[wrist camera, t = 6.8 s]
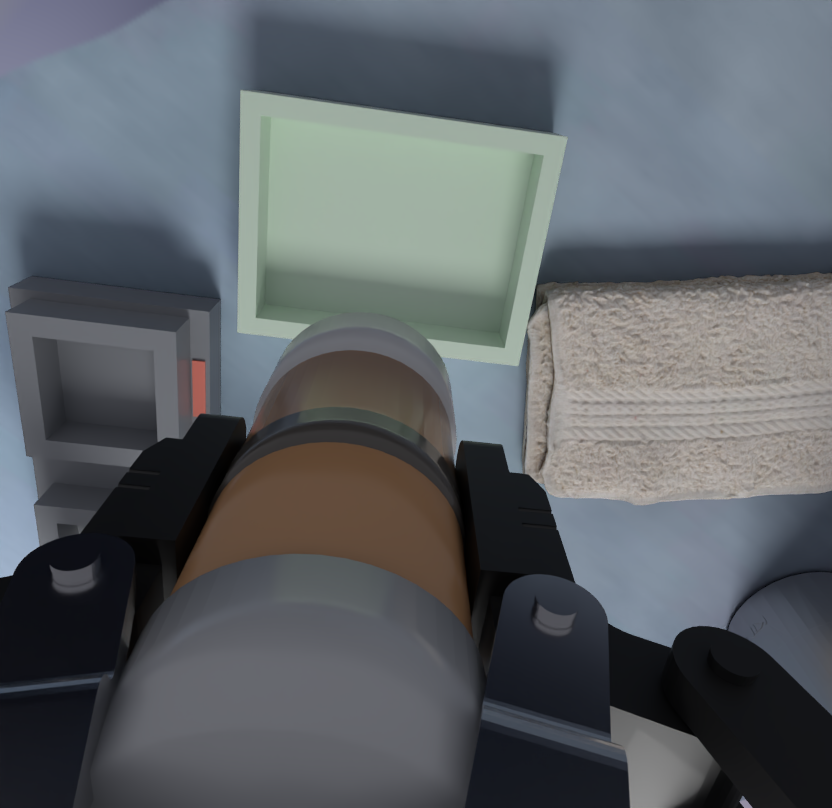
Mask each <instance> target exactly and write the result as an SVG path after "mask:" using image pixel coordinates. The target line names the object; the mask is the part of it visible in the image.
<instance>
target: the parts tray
mask: <svg viewBox="0 0 832 808" xmlns="http://www.w3.org/2000/svg"><path fill="white" fill-rule="evenodd" d="M567 138H568V137H566V136H562V135H559V134H556V133H551V132H544V131H537V130H530V129H523V128H516V127H510V126H503V125H496V124H489V123H482V122H475V121H468V120H461V119H454V118H447V117H440V116H433V115H426V114H419V113H412V112H405V111H398V110H391V109H385V108H378V107H371V106H364V105H357V104H350V103H343V102H336V101H329V100H322V99H315V98H308V97H301V96H294V95H287V94H280V93H273V92H266V91H259V90H241V94H240V170H239V246H238V322H237V333H245V334H253V335H262V336H270V337H278V338H287V339H294V338H295V337H296V336H297V335H298V334H300V333H301V332H302V331H303V330H304V329H306V328H307V327H309V326H310V325H312V324H314V323H316V322H318V321H320V320H322V319H324V318H327V317H330V316H333V315H337V314H342V313H350V312H370V313H376V314H381V315H385V316H388V317H392V318H395V319H397V320H399V321H401V322H403V323H405V324H407V325H409V326H410V327H412V328H414V329H415V330H417V331H418V332H419V333H420V334H421V335H423V336H424V337H425V338H426V339H427V340H428V341H429V342H430V343H431V344H432V345H433V347H434V348H435V349H436V351H437V352H438V354H439V355H440V357H446V358H454V359H462V360H471V361H479V362H487V363H496V364H504V365H513V366H518V365H519V361H520V356H521V351H522V347H523V342H524V337H525V333H526V328H527V324H528V319H529V314H530V310H531V305H532V300H533V296H534V291H535V287H536V282H537V277H538V273H539V268H540V263H541V259H542V254H543V250H544V245H545V240H546V236H547V231H548V226H549V222H550V217H551V212H552V208H553V203H554V199H555V194H556V189H557V185H558V180H559V175H560V171H561V166H562V162H563V157H564V152H565V148H566V143H567Z"/></svg>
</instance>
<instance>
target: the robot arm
mask: <svg viewBox="0 0 832 808" xmlns="http://www.w3.org/2000/svg"><path fill="white" fill-rule="evenodd" d="M245 440H246V424H245V420H244V418H243V417H233V416H223V415H214V414H204V413H201V414H199V415H198V417H197V418H196V420H195V421H194V423H193V424H192V426H191V427H190V429H189V430H188V432H187V433H186V435H185V436H184V438H183V439H177V438H167V437H166V438H164V439H163V440H161V441H159V442H157V443H156V444H154V445H152V446H151V447H149V448H147V449H145V450H144V451H142V453H141V454H140V455H139V457H138V458H137V459H136V460H135V462H134V463H133V464H132V466H131V467H130V468H129V472H126V474H125V475H124V476H123V478H122V479H121V480H120V482H119V483H118V487H115V488H114V490H113V491H112V492H111V494H110V495H109V496H108V497H107V499H106V500H105V501H104V503H103V504H102V505H101V507H100V508H99V509H98V511H97V512H96V513H95V515H94V516H93V517H92V519H91V520H90V521H89V523H88V524H87V525H86V527H85V528H84V529H83V531H82V532H81V533H80V534H75V535H69V536H65V537H62V538H58V539H55V540H53V541H50V542H48V543H46V544H44V545H42V546H40V547H38V548H36V549H35V550H33V551H32V552H30V553H29V554H28V555H27V556H26V557H24V558H23V560H22V561H21V562H20V563H19V564H18V566H17V568H16V569H15V571H14V574H13V575H12V576H8V577H2V578H0V808H91V805H92V803H93V801H94V796H93V790H92V783H91V777H90V770H91V767H92V763H93V760H94V756H95V752H96V749H97V745H98V742H99V738H100V735H101V731H102V728H103V725H104V721H105V718H106V715H107V712H108V709H109V706H110V703H111V700H112V697H113V694H114V691H115V688H116V685H117V683H118V680H119V678H120V675H121V673H122V671H123V668H124V666H125V664H126V662H127V660H128V658H129V656H130V654H131V652H132V650H133V648H134V646H135V644H136V642H137V640H138V638H139V636H140V634H141V632H142V630H143V629H144V627H145V625H146V624H147V622H148V621H149V619H150V617H151V616H152V614H153V613H154V612H155V611H156V610H157V609H158V608H159V606H160V605H161V604H162V603H163V602H164V601H165V600H166V599H167V598H168V597H170V594H171V592H172V590H173V588H174V586H175V584H176V582H177V580H178V578H179V576H180V574H181V572H182V570H183V568H184V566H185V564H186V562H187V560H188V558H189V555H190V553H191V551H192V549H193V547H194V545H195V543H196V541H197V539H198V537H199V535H200V533H201V531H202V529H203V527H204V525H205V523H206V521H207V518H208V510H209V507H210V505H211V502H212V500H213V498H214V496H215V494H216V492H217V490H218V488H219V486H220V484H221V482H222V480H223V478H224V476H225V474H226V472H227V470H228V468H229V466H230V464H231V462H232V461H233V459H234V457H235V456H236V454H237V452H238V451H239V450H240V449H241V448H242V446H243V444H244V442H245ZM455 473H456V481H457V484H458V487H459V491H460V496H461V500H462V509H463V518H464V526H465V535H466V542H465V548H464V558H465V567H466V576H467V586H468V595H469V605H470V614H471V623H472V633H473V640H474V642H475V643H476V646H477V648H478V651H479V653H480V655H481V658H482V660H483V665H484V669H485V673H486V683H485V689H484V696H483V702H482V708H481V713H480V719H479V725H478V731H477V736H476V742H475V748H474V753H473V759H472V764H471V770H470V775H469V781H468V787H467V792H466V798H465V802H464V806H463V808H744V807H743V806H742V805H741V803H740V802H739V801H740V799H741V798H742V796H744V797H745V799H746V800H747V801H748V802H749V804H750V805H751V806H752V807H753V808H832V573H828V572H812V573H803V574H798V575H794V576H789V577H787V578H784V579H781V580H779V581H776V582H774V583H772V584H770V585H768V586H766V587H765V588H763V589H761V590H759V591H758V592H757V593H755V594H754V595H753V596H752V597H750V598H749V599H748V600H747V601H746V602H745V603H744V604H743V605H742V606H741V607H740V608H739V610H738V611H737V612H736V614H735V616H734V617H733V619H732V621H731V622H730V625H729V629H728V631H727V630H724V629H720V628H716V627H709V626H697V627H691V628H688V629H685V630H683V631H682V632H680V633H679V634H678V635H677V636H676V638H675V640H674V642H673V645H672V648H670V647H667V646H664V645H661V644H658V643H655V642H652V641H649V640H646V639H643V638H640V637H637V636H634V635H631V634H628V633H626V632H623V631H621V630H619V629H617V628H615V627H613V626H612V625H610V624H608V620H607V616H606V613H605V610H604V609H603V607H602V605H601V604H600V603H599V601H598V600H597V599H596V598H595V597H594V596H593V595H592V594H591V593H590V592H588V591H587V590H585V589H584V588H583V587H581V586H579V585H577V584H576V583H575V581H574V578H573V574H572V571H571V568H570V565H569V562H568V559H567V556H566V553H565V550H564V547H563V544H562V541H561V538H560V535H559V532H558V530H556V527H557V525H556V522H555V519H554V516H553V514H551V511H552V510H551V507H550V504H549V501H548V498H547V495H546V492H545V491H544V490H543V489H542V488H541V487H540V486H539V484H538V483H537V482H536V481H535V480H534V479H533V478H532V477H531V476H530V475H529V474H520V473H510V472H509V470H508V466H507V462H506V458H505V454H504V449H503V446H502V445H501V444H492V443H482V442H472V441H463V440H462V441H461V442H460V445H459V449H458V454H457V460H456V466H455Z"/></svg>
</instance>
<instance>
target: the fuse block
mask: <svg viewBox="0 0 832 808" xmlns="http://www.w3.org/2000/svg"><path fill="white" fill-rule="evenodd" d="M8 290H9V297H10V304H11V309H10V310H8V311H6V312H5V314H6V321H7V328H8V334H9V341H10V348H11V355H12V361H13V368H14V375H15V382H16V388H17V395H18V402H19V409H20V415H21V422H22V429H23V436H24V442H25V449H26V456H29V457H33V464H34V471H35V478H36V485H37V492H38V499H39V500H38V501H37V502H36V503H35V504H34V510H35V517H36V523H37V530H38V537H39V544H40V546H42V545H44V544H46V543H48V542H50V541H53V540H55V539H58V538H62V537H65V536H69V535H75V534H80V533H81V532H82V531H83V529H84V528H85V527H86V525H87V524H88V523H89V521H90V520H91V519H92V517H93V516H94V515H95V513H96V512H97V511H98V509H99V508H100V507H101V505H102V504H103V503H104V501H105V500H106V499H107V497H108V496H109V495H110V494H111V492H112V491H113V490H114V488H115V487H118V483H119V482H120V480H121V479H122V478H123V476H124V475H125V474H126V472H129V468H130V467H131V466H132V464H133V463H134V462H135V460H136V459H137V458H138V457H139V455H140V454H141V453H142V451H144V450H145V449H147V448H149V447H151V446H152V445H154V444H156V443H157V442H159V441H161V440H163V439H164V438H166V437H167V438H177V439H183V438H184V436H185V435H186V433H187V432H188V430H189V429H190V427H191V426H192V424H193V423H194V421H195V420H196V418H197V417H198V415H199V414H201V413H204V414H214V415H221V299H214V298H206V297H198V296H189V295H181V294H173V293H165V292H157V291H149V290H141V289H132V288H124V287H116V286H108V285H100V284H92V283H84V282H75V281H67V280H59V279H51V278H43V277H35V276H30V277H28V278H26V279H24V280H22V281H20V282H18V283H16V284H14V285H12V286H10V287H8Z"/></svg>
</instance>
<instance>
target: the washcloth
mask: <svg viewBox="0 0 832 808" xmlns="http://www.w3.org/2000/svg"><path fill="white" fill-rule="evenodd" d="M527 329H528V330H527V333H528V340H527V341H528V346H527V350H528V351H527V361H526V373H527V374H526V378H527V389H526V406H525V419H524V438H523V447H522V449H523V451H522V464H523V474H529V475H530V476H531V477H532V478H533V479H534V480H535V481H536V482H538V483H541V484H545V488H546V490H547V491H548V492H549V494H550V495H553V496H556V497H560V498H575V499H578V498H605V499H610V500H623V501H627V502H630V503H632V504H634V505H649V504H654V503H657V502H665V501H679V500H691V499H731V498H749V497H753V496H762V495H771V494H773V495H783V494H794V495H795V494H809V493H814V494H817V493H825V492H828V491H831V490H832V273H827V274H821V273H819V272H814V273H809V274H799V275H788V276H787V275H785V276H784V275H773V276H770V275H764V276H755V275H746V276H744V277H739V278H737V277H734V276H729V275H727V276H723V275H721V276H720V277H718V278H715V277H709V278H704V279H701V278H697V279H693V280H687V281H680V280H673V281H662V280H657V281H655V282H647V283H643V282H622V283H612V282H606V283H601V282H600V283H595V282H592V283H587V282H586V283H578V281H576V282H573V283H572V282H569V283H556V282H549V283H546V284H538V285H537V286H536V311H535V313H534V314H533V315H532V316H531V317H530V319H529V321H528V324H527Z"/></svg>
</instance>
